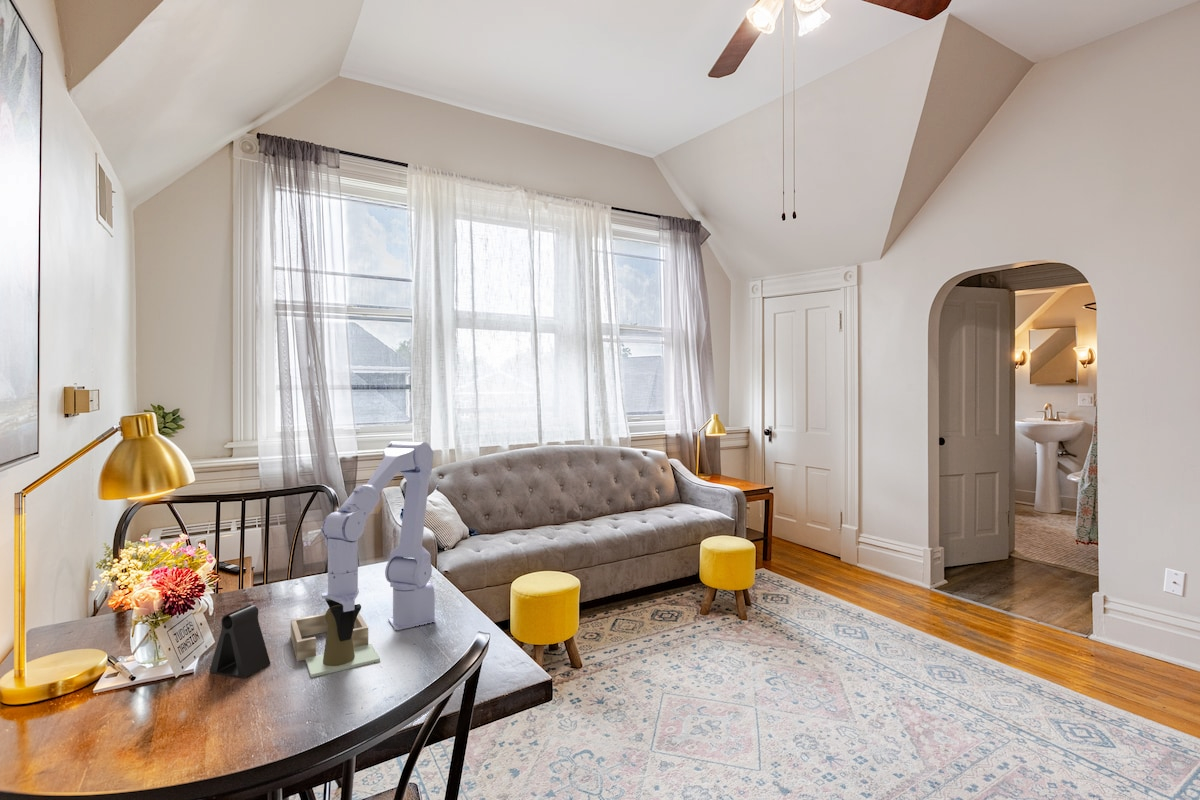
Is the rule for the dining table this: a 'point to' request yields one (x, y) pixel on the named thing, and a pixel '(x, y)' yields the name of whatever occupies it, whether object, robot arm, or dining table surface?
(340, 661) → the olive game pawn
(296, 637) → the access bay
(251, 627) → the black triangular stand
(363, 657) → the sage mat
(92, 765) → the dining table surface
